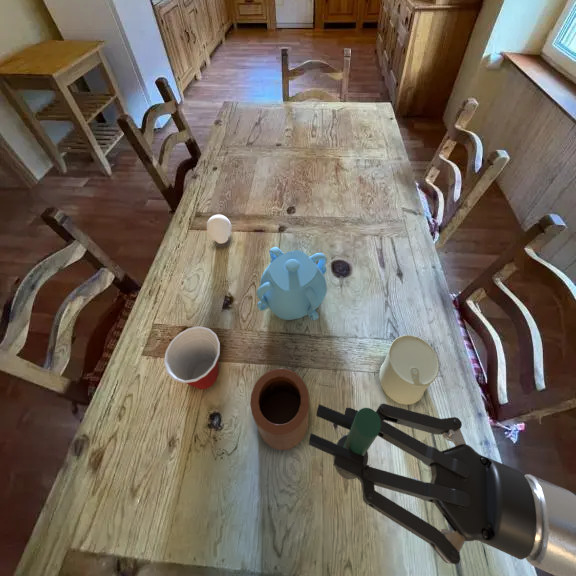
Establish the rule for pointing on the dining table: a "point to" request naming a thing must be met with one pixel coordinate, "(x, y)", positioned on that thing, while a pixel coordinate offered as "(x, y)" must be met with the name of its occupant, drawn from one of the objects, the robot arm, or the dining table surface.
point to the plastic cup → (193, 357)
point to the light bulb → (219, 230)
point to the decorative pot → (293, 284)
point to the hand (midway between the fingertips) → (314, 424)
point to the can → (408, 369)
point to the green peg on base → (361, 435)
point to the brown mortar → (280, 408)
